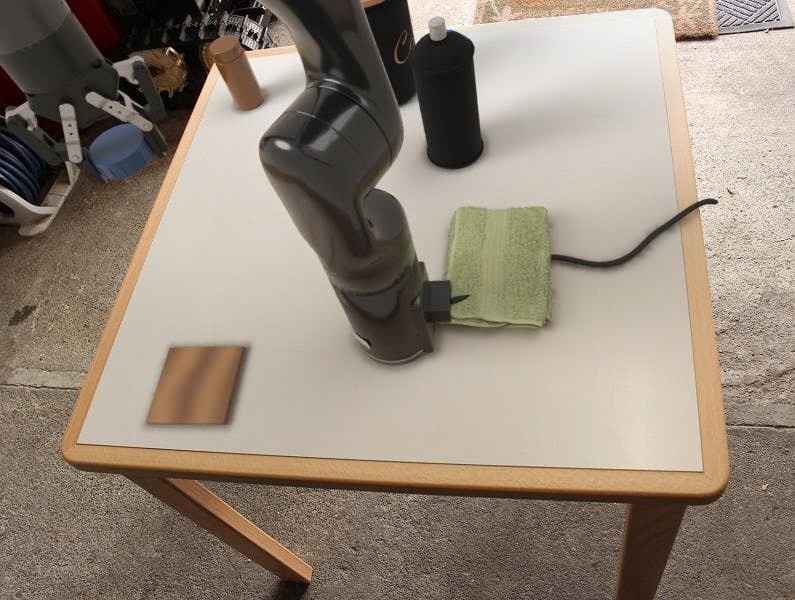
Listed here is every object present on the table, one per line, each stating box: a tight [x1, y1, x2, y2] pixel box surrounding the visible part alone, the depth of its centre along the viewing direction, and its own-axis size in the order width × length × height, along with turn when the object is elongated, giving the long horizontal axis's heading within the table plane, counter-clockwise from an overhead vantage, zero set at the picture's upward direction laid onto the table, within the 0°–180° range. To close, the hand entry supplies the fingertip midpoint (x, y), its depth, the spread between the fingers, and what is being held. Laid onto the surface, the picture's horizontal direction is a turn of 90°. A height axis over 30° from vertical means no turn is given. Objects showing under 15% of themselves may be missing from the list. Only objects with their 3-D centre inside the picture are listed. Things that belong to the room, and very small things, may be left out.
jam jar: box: [208, 34, 265, 112], centre depth 99 cm, size 5×5×11 cm
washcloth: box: [439, 205, 554, 330], centre depth 73 cm, size 13×18×3 cm
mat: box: [145, 345, 246, 426], centre depth 73 cm, size 10×10×1 cm
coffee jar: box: [362, 0, 417, 107], centre depth 91 cm, size 11×11×18 cm
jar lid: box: [88, 123, 155, 180], centre depth 63 cm, size 6×6×2 cm
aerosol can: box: [408, 16, 485, 170], centre depth 79 cm, size 8×8×20 cm
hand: (133, 166), depth 65 cm, fingers closed on jar lid, 6 cm apart
